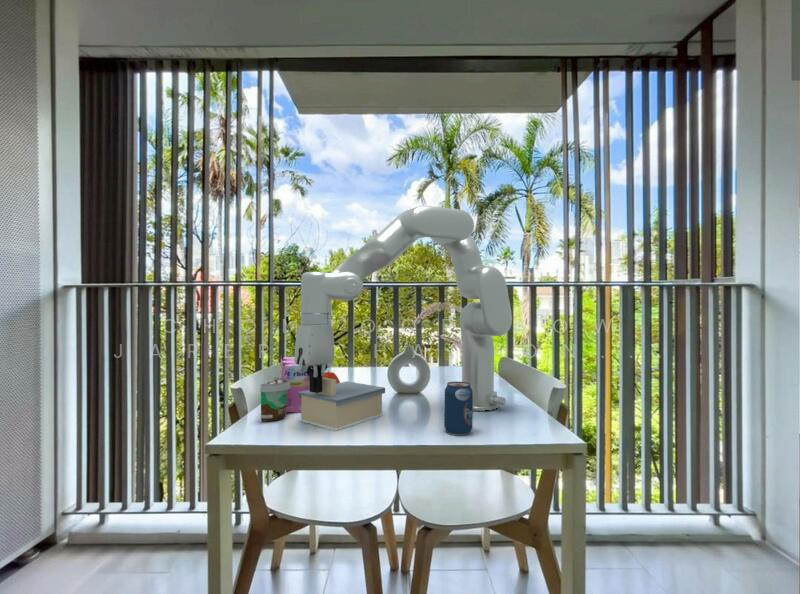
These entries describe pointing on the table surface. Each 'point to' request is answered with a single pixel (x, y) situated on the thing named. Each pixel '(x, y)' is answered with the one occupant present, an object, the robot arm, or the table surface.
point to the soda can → (458, 408)
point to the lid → (343, 391)
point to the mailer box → (339, 412)
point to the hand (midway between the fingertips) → (315, 391)
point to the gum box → (293, 382)
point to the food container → (274, 399)
